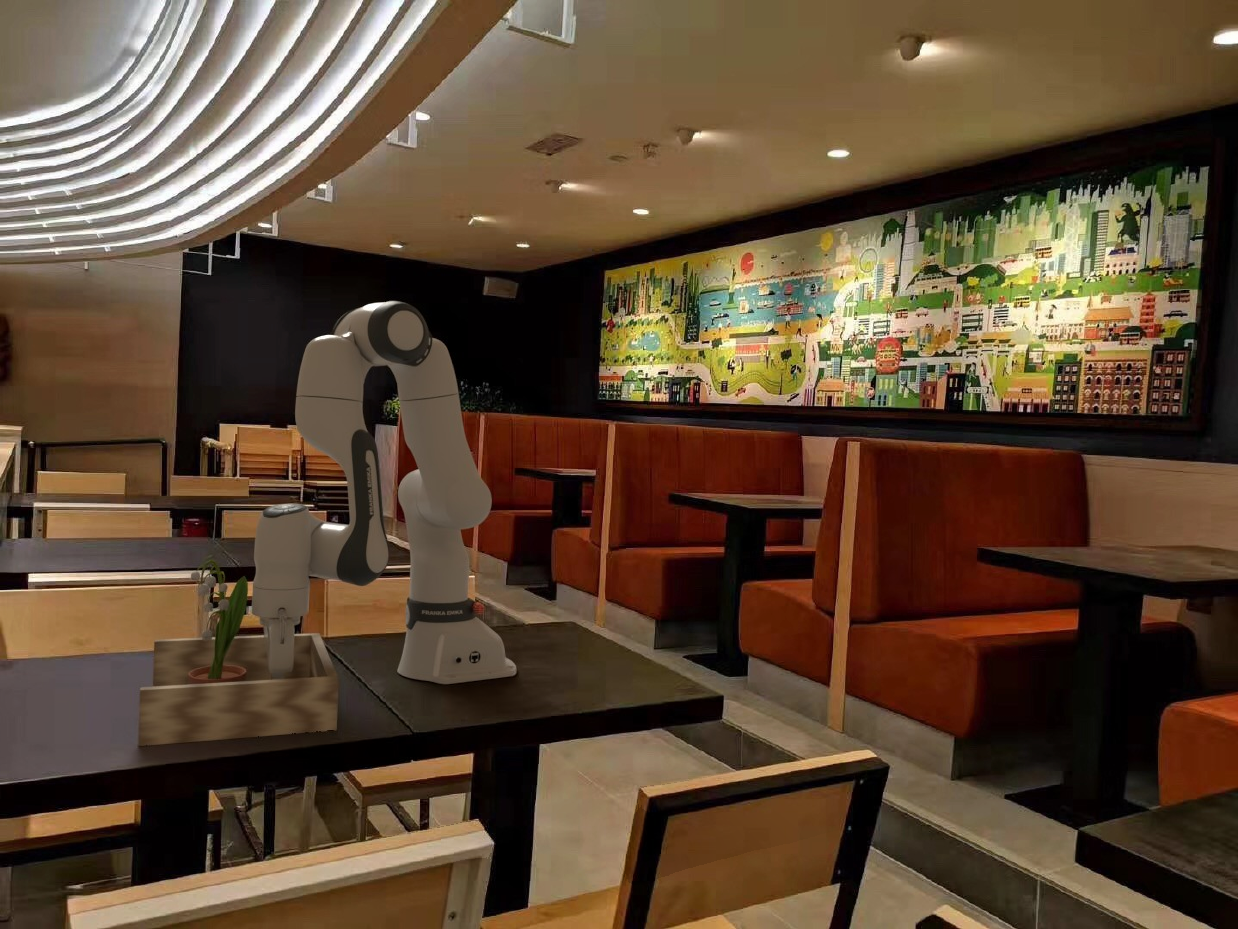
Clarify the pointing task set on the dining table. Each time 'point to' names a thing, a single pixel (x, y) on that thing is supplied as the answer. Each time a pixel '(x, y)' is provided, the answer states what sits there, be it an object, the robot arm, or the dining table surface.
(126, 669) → the dining table surface
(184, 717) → the open wooden planter box
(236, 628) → the potted flower
